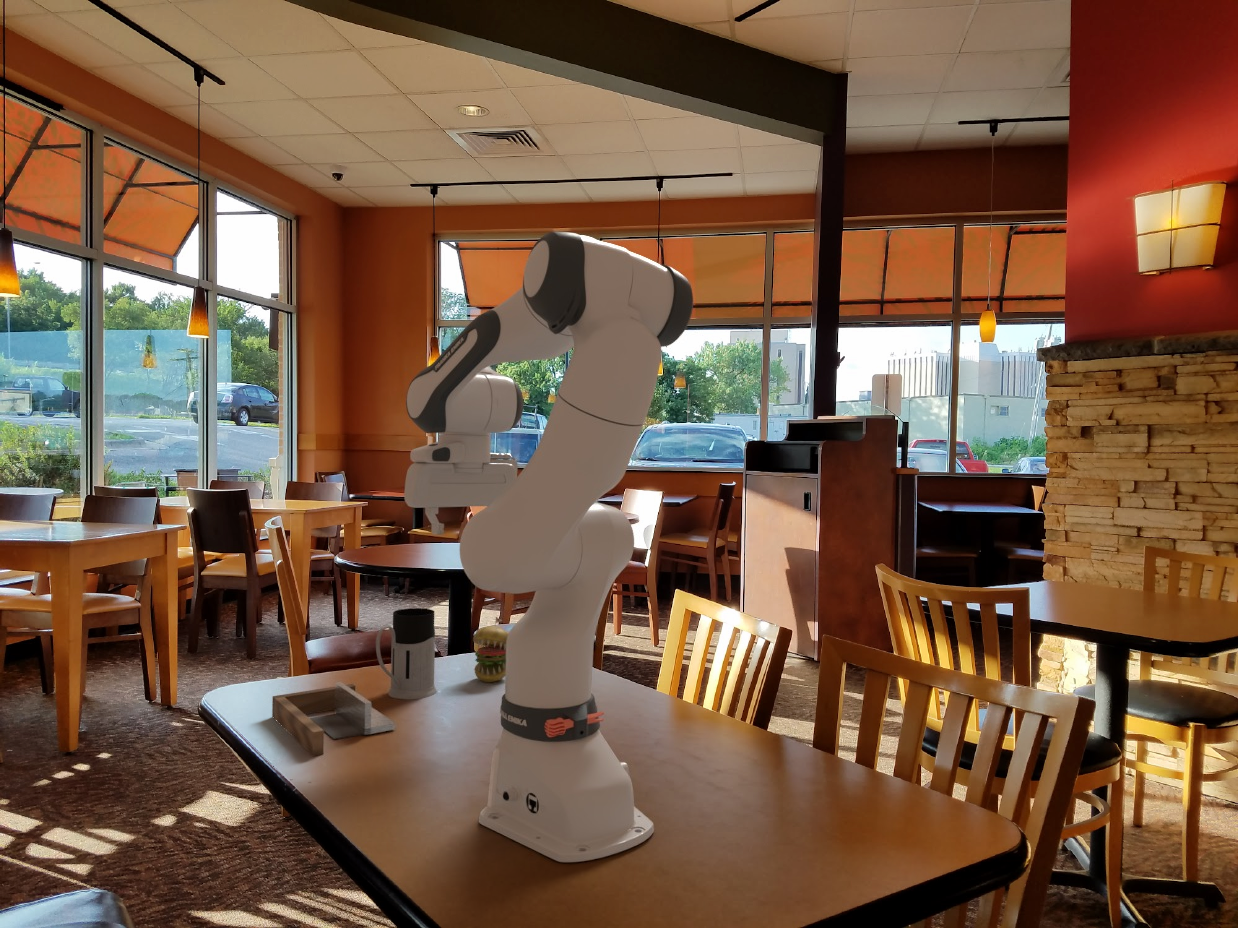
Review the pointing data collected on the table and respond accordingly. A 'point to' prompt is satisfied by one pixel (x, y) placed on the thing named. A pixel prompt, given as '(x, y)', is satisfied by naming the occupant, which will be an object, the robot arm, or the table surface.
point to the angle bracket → (359, 711)
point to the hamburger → (491, 653)
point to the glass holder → (411, 653)
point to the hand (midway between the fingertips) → (463, 533)
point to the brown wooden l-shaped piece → (311, 730)
